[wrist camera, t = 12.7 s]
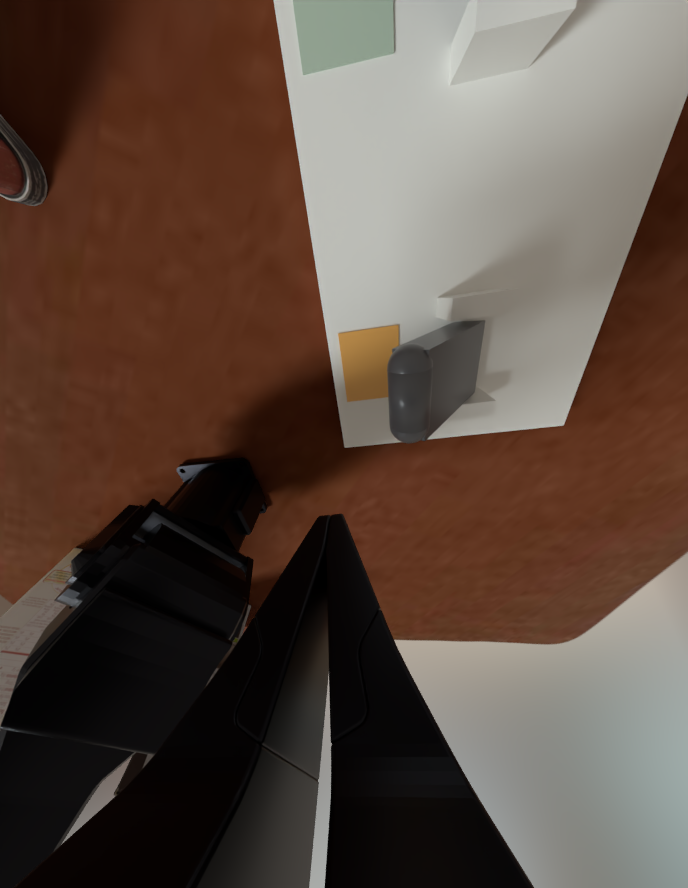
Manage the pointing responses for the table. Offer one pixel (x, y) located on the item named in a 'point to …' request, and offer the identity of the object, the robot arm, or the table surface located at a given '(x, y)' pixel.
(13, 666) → the coffeecake box
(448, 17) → the breaker panel
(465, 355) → the breaker lever
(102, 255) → the table surface
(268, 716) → the robot arm
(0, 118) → the lighter
